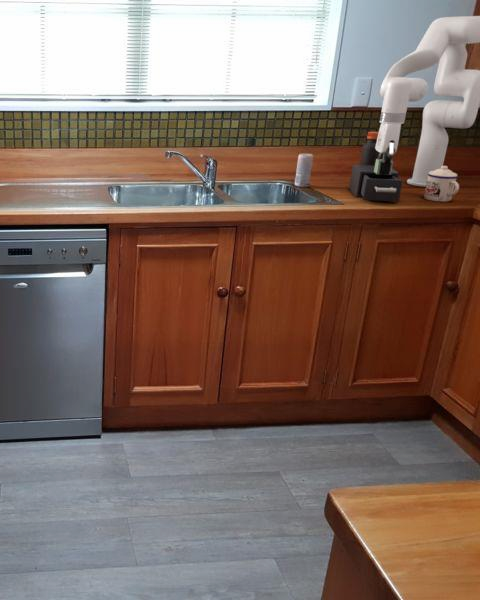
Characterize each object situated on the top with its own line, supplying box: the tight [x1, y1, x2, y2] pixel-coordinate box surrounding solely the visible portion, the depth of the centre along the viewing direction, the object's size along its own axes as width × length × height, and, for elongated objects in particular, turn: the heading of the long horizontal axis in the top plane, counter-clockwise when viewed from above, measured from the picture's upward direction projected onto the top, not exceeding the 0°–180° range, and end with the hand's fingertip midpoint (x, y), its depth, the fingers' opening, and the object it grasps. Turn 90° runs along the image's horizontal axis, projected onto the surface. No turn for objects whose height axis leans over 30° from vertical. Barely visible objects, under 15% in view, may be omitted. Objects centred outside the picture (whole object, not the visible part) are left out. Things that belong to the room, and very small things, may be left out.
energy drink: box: [294, 153, 314, 188], centre depth 234 cm, size 5×5×12 cm
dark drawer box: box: [348, 164, 400, 198], centre depth 222 cm, size 15×13×9 cm
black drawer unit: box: [359, 174, 404, 203], centre depth 212 cm, size 18×11×7 cm, turn 167°
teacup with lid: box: [423, 165, 460, 203], centre depth 212 cm, size 12×9×12 cm
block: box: [374, 159, 394, 175], centre depth 210 cm, size 4×4×4 cm
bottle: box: [359, 131, 379, 165], centre depth 234 cm, size 7×7×20 cm
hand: (382, 172), depth 211 cm, fingers closed on block, 4 cm apart
